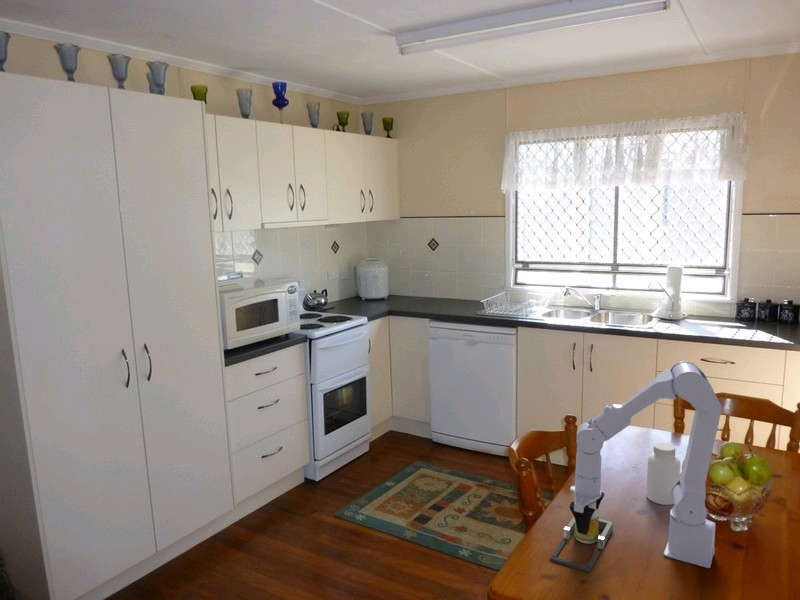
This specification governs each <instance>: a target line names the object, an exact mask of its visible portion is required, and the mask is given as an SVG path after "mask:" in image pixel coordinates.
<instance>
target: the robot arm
mask: <svg viewBox="0 0 800 600" xmlns="http://www.w3.org/2000/svg"><path fill="white" fill-rule="evenodd" d="M676 396H678V397H680V398H681V399H682V400H684V401H686V402H688V403H690V405H691V406H692V408H694V409H695V411H694V413H693V414H694V415H693V420H692V424H691V430H690V432H689V439H688V444H687V448H686V452H685V457H684V461H683V462H684V463H683V466H682V471H680V475H679V478H678V481H677V482H676V483H675V484H674V485H673V487H672V489H671V495H672V498H673V501H674V504H673V506H672V508H671V509H670V512H669V526H668V528H669V529H668V540H667V543H666V545H665V546H666V547H665V549H664V552H663V556H664V557H666V558H670V559H675V560H678V561H682V562H685V563H689V564H692V565H697V566H699V567H702V568H703V567H704V568H706V569H710V568H711V565H712V561H713V558H714V556H715V554H716V553H715V552H716V547H715V539H716V538H715V536H716V522H714V521H712V520H709V519H707V515H708V511H707V507H706V504H705V503H706V502H705V501H706V499H707V498H706V497H707V496H706V490H707V489H706V481H707V477H708V473H709V467H710V464H711V460H712V454H713V450H714V446H715V442H716V437H717V433H718V427H719V423H720V420H721V414H722V411H723V410H722V409H723V408H722V407H723V406H722V404H721V402H720V401H719V399H718V396H717V395H716V392H715V391H714V388H713V387H712V384H711V383H710V381H709V379H708V377H707V376H706V374H705V373H704V372H703V371H702V370H701V369H700V368H699V367H698V366H697V365H696V364H695V363H694V362H691V361H689V360H682V361H678V362H676V363H674V364H673V365H672V366H671V368H670V367H668V368H666V369H664V370H663V371H662V372H661V373H659V374H658V375H657V376H656V377H655V378H654V379H653V380H651V381H649V382H648V383H647V384H646V385H645V386H643V387H642V388H641V389H639V391H637V392H636V393H635V394H634V395H632V396H631V397H630V398H629V399H627V400H626V401H625V402H623V403H613V404H611V405H608V404H607V405H605V406H604V407H603V411H601V412H600V413H598V414H597V415H596V416H595V417H593V418H588V419H587V422H586V421H585V422H583V423H581V424H580V425H579V426H578V427H577V430H576V453H575V480H574V481H575V484H574V485H571V486H570V488H569V489H570V490H569V492H572V493H573V495H574V501H571V502H570V504H569V510H570V512H571V513H572V515H573V517H574V518H575V521H576V526H577V530H578V533H582V534H585V535H587V533H588V531H589V526H590V521H591V518H592V515H593V513H594V512H595V510H596V509H593V508H589V507H588V506H587V505H588V504H590V503H592V502H594V501H596V508H597V510H598V511H599V507H600V505H601V503H602V500H603V499H604V497H605V492H603V491H602V489H601V487H602V486H601V483H602V482H601V481H602V480H601V479H602V458H603V457H602V454H601V450H602V449H603V446H604V443H605V442H607V441H609V440H610V439H612V438H613V437H615V436H616V435H617V434H619V433H620V432H622V431H624V430H625V429H626V428H627V427H629V426H631V423H632V417H633V416H635V415H637V414H638V413H640V412H641V411H643V410H644V409H647V407H649V406H651V405H653V404H654V403H656V402H657V401H659V400H660V399H668V400H677V398H676Z"/></svg>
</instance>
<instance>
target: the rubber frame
mask: <svg viewBox="0 0 800 600" xmlns="http://www.w3.org/2000/svg"><path fill="white" fill-rule="evenodd" d="M566 544H567V543H566V540H564V539H560V542H558V544H557V546H556V547H555V549H554V551H553V552H552V554H551V555H550V556H549V561H551V562H554V563H557V564H560V565H564V566H566V567H570V568H573V569H577V570H580V571H582V572H587V573H589V574H590V573H591V571H592V569H593V568H594V565H596V562H597V560H598V558H599V556H600V554H601V550H599V549H595V551H593V554H592V556H591V558H590V559H589V561H588V563H587V565H583V564H580V563H577V562H573V561H570V560H568V559H563V558H560V557H558V556H559V555H560V553H561V551H562V549H563V548H564V547H565V545H566Z"/></svg>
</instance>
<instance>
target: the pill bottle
mask: <svg viewBox="0 0 800 600" xmlns="http://www.w3.org/2000/svg"><path fill="white" fill-rule="evenodd" d="M646 473H647V474H646V486H645V487H646V488H645V489H646V491H645V493H646V498H648V500H649V501H651V502H652V503H655V504H658V505H663V506H670V505H674V501H673V498H672V495H671V489H672V487H673V485H674V484H675V483H676V482H677V481H678V478H679V475H680V473H681V460H680V458H679V457H677V455H676V447H675V445H673V444H671V443H669V442H656V443H654V444H653V452H651V453H650V454H649V455H648V457H647V471H646Z"/></svg>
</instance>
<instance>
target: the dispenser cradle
mask: <svg viewBox="0 0 800 600" xmlns="http://www.w3.org/2000/svg"><path fill="white" fill-rule="evenodd" d="M613 527H614V523H613V522H612V521H609V520H606V519H602V518H599V523H598V530H603V531H602V533H601V535H598V540H597V549H600V550H604V548H605V545H606V543H607V541H608V540H609V538H610V535H611V533H612V531H613ZM574 532H575V518H574V516H573V517H572V518H571V520H570V521H569V522H568V524H567V526H564V528H563V539H565V540H570V538H571V536H572V534H573V533H574Z"/></svg>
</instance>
